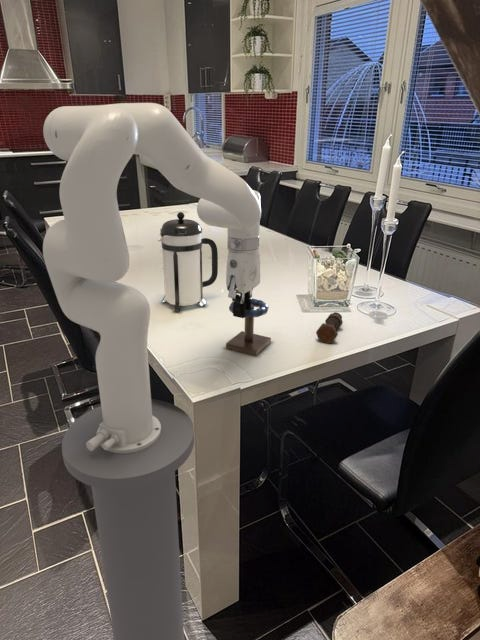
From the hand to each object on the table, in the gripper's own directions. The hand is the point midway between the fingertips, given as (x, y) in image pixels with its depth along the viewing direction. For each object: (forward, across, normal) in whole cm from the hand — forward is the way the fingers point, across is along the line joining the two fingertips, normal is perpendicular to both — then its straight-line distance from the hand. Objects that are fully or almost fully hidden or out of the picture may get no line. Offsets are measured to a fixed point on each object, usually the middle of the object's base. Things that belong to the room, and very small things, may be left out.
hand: (242, 314), depth 118 cm
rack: (+11, +4, 0) cm, 11 cm away
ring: (0, +4, 0) cm, 4 cm away
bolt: (+11, +23, -17) cm, 31 cm away
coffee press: (+11, +22, +32) cm, 40 cm away
